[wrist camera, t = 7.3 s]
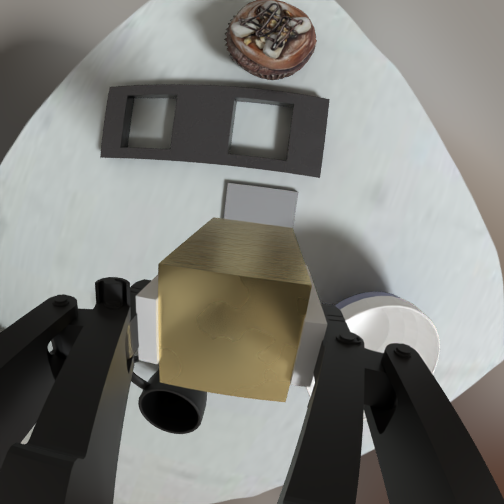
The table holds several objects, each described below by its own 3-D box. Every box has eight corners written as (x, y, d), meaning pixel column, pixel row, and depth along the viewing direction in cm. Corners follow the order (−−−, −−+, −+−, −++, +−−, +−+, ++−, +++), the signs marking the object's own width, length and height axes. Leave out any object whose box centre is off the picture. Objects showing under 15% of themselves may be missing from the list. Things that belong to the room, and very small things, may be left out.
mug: (166, 317, 40) (140, 354, 31) (225, 375, 42) (215, 420, 33) (131, 345, 42) (104, 383, 33) (187, 398, 44) (172, 441, 35)
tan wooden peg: (206, 290, 21) (159, 382, 11) (213, 217, 20) (158, 263, 10) (280, 300, 21) (285, 402, 11) (292, 227, 19) (311, 285, 10)
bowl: (276, 349, 40) (276, 394, 31) (344, 250, 36) (367, 276, 27) (364, 389, 42) (379, 433, 32) (430, 307, 38) (463, 339, 28)
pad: (221, 249, 37) (220, 250, 37) (228, 182, 35) (227, 183, 35) (287, 258, 37) (288, 260, 37) (297, 191, 35) (298, 192, 34)
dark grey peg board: (108, 157, 35) (100, 157, 33) (117, 90, 33) (109, 87, 31) (317, 177, 34) (319, 177, 32) (326, 102, 32) (329, 99, 30)
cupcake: (325, 43, 30) (342, 5, 20) (284, 102, 32) (289, 77, 23) (257, 8, 29) (252, -35, 20) (214, 65, 32) (195, 32, 22)
